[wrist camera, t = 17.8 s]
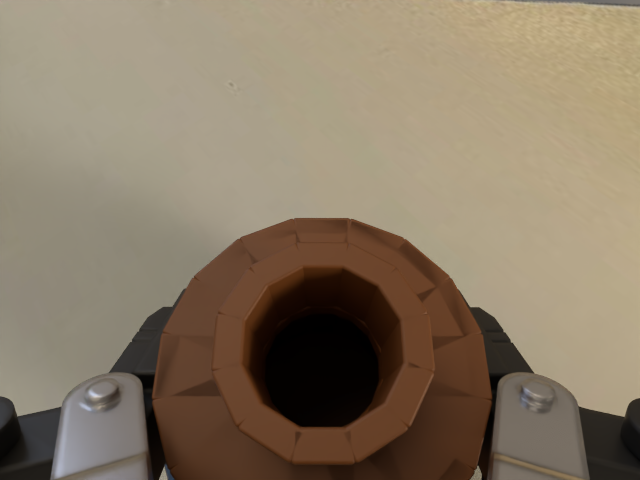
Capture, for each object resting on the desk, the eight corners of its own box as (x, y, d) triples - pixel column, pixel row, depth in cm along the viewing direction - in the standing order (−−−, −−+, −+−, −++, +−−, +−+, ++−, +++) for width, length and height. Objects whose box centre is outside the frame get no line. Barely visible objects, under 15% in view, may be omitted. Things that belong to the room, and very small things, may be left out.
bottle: (394, 325, 17) (505, 157, 7) (405, 495, 14) (602, 621, 4) (247, 325, 17) (138, 156, 7) (235, 494, 14) (44, 620, 4)
